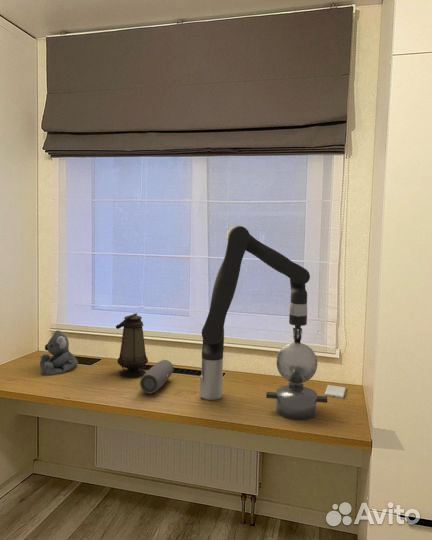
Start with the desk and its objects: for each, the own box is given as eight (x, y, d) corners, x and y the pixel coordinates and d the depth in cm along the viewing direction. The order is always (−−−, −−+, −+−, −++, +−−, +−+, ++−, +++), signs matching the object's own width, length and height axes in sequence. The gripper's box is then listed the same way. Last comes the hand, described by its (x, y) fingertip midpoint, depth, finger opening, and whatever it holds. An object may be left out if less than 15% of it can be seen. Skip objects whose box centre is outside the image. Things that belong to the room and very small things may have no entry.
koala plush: (39, 366, 228) (38, 329, 226) (75, 362, 235) (75, 326, 234) (41, 377, 212) (40, 337, 210) (80, 372, 220) (80, 334, 218)
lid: (277, 342, 187) (277, 340, 191) (275, 384, 188) (275, 382, 191) (318, 344, 185) (317, 343, 188) (316, 387, 185) (316, 385, 189)
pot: (265, 417, 173) (265, 397, 172) (266, 401, 188) (267, 383, 188) (328, 422, 169) (329, 402, 168) (324, 406, 185) (325, 387, 184)
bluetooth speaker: (159, 397, 191) (159, 374, 190) (138, 395, 193) (138, 372, 192) (174, 379, 213) (174, 359, 212) (156, 378, 215) (156, 357, 214)
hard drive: (327, 384, 208) (324, 393, 196) (346, 387, 205) (343, 396, 193) (327, 388, 208) (324, 397, 197) (345, 390, 205) (343, 400, 194)
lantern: (139, 381, 209) (140, 318, 207) (110, 378, 213) (110, 316, 210) (154, 369, 227) (154, 311, 224) (126, 366, 231) (127, 309, 228)
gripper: (289, 310, 198) (287, 348, 200) (289, 315, 185) (288, 356, 187) (306, 311, 197) (304, 349, 199) (308, 316, 184) (306, 357, 186)
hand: (296, 352), depth 193 cm, fingers closed
